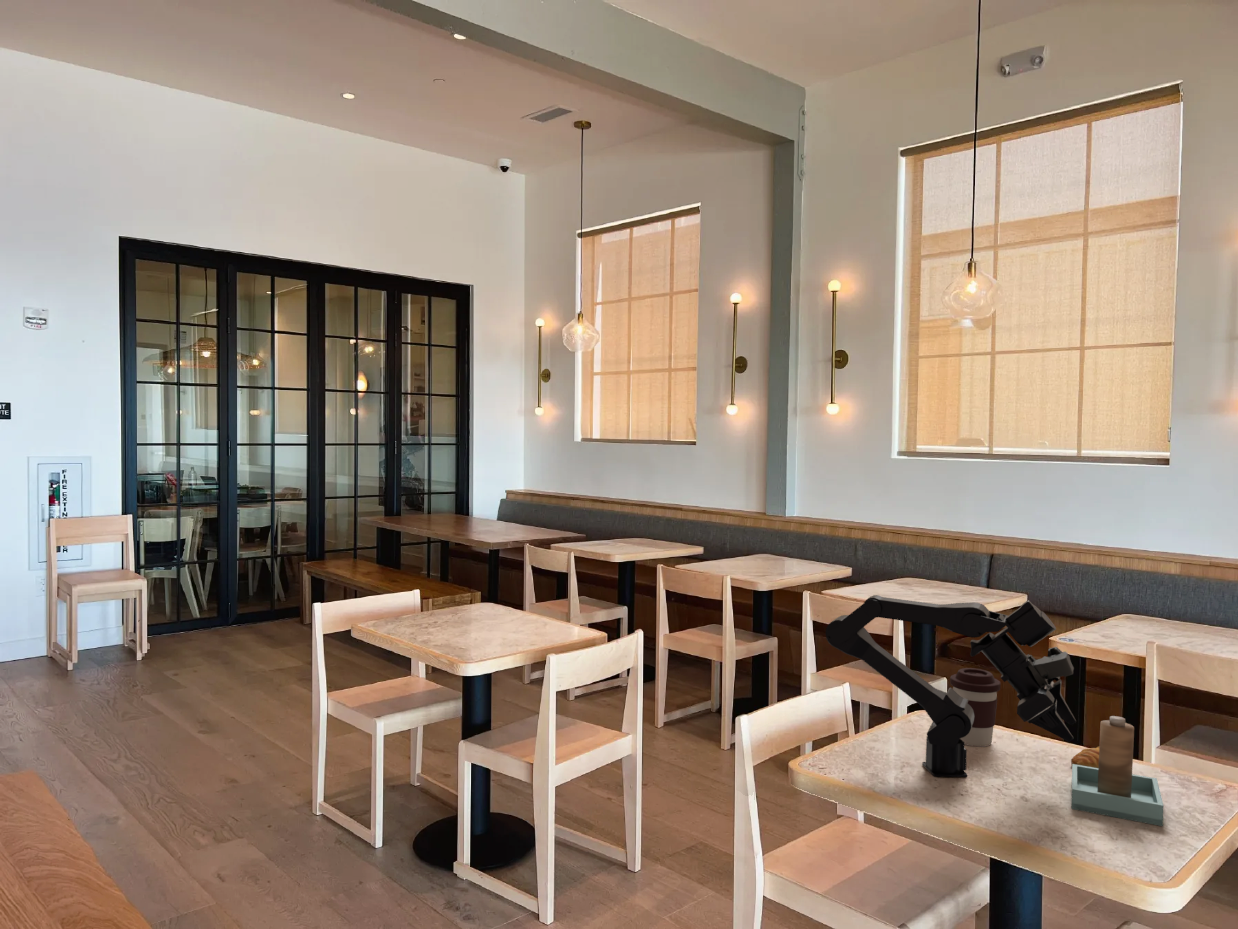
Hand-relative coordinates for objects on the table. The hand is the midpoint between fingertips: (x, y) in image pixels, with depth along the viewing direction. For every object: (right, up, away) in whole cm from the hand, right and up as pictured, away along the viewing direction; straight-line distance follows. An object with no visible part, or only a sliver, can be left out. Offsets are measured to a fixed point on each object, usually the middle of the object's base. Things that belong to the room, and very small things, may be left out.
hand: (1072, 731), depth 157 cm
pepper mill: (+6, -11, -3) cm, 13 cm away
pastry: (+12, -12, +14) cm, 22 cm away
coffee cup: (-7, -11, +28) cm, 30 cm away
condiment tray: (+6, -12, -3) cm, 13 cm away
